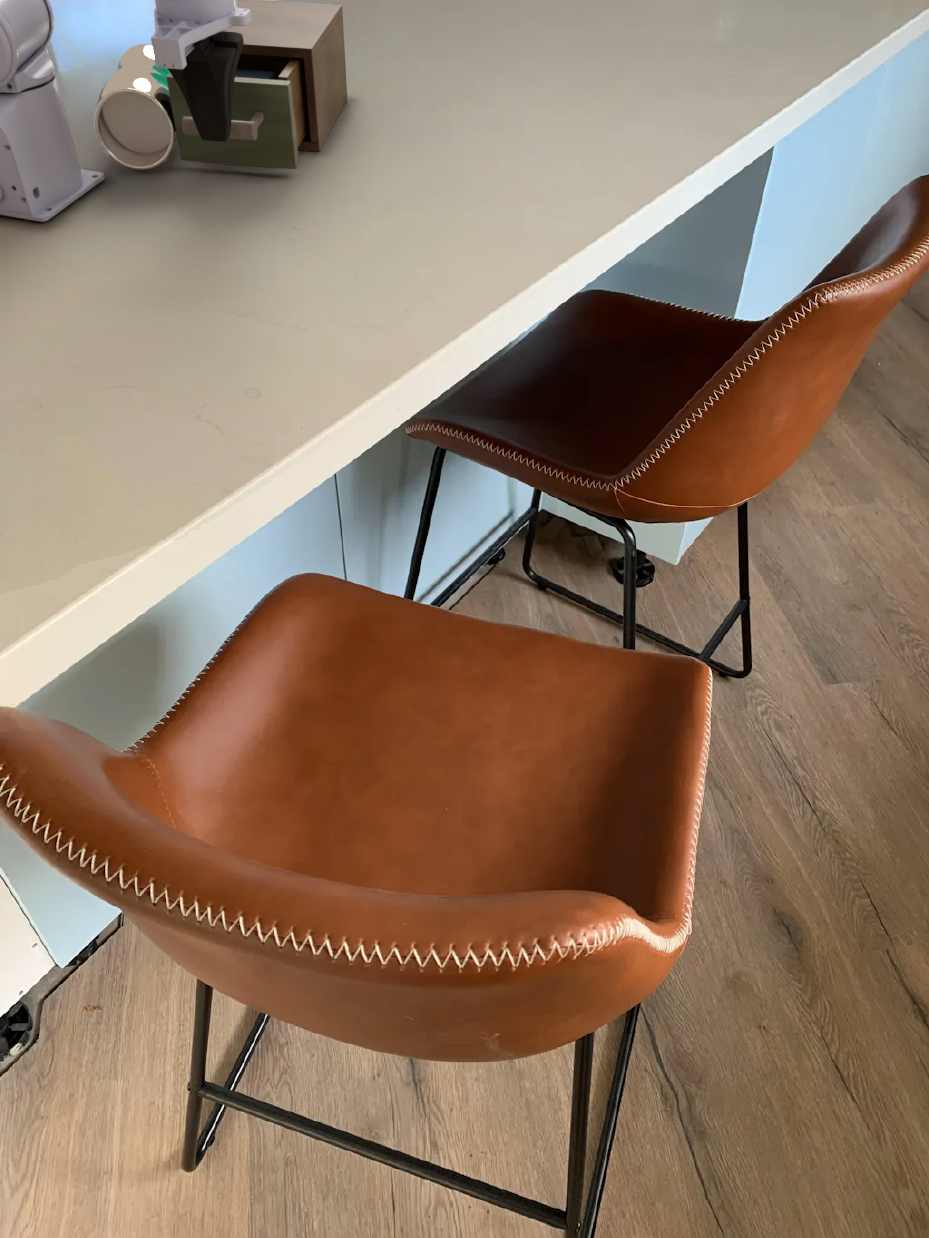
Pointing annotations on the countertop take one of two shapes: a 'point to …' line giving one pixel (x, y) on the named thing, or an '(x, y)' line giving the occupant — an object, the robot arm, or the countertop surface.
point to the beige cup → (136, 112)
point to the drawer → (252, 117)
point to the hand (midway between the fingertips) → (215, 138)
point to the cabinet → (303, 54)
